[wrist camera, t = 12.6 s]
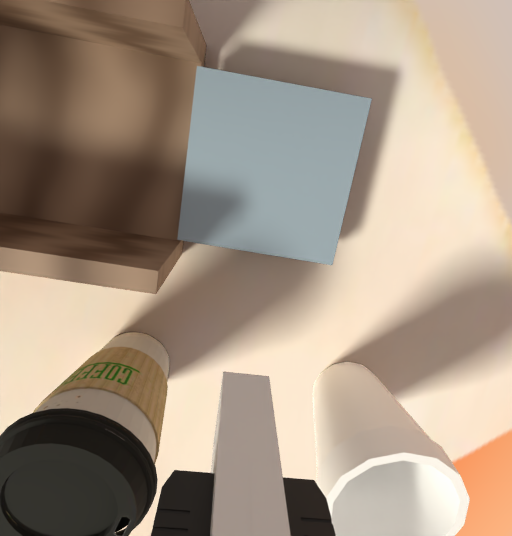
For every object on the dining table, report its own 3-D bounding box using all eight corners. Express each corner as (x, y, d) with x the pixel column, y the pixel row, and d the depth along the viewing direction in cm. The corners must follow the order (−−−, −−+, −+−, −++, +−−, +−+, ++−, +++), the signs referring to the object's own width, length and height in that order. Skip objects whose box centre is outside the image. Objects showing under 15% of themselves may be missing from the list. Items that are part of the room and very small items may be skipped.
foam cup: (276, 396, 37) (291, 522, 24) (341, 328, 35) (394, 427, 22) (348, 446, 39) (396, 586, 26) (413, 384, 37) (499, 503, 24)
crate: (-90, 211, 31) (-231, 236, 22) (-111, -17, 26) (-300, -106, 17) (181, 254, 32) (156, 294, 23) (206, 45, 28) (186, -7, 19)
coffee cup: (102, 296, 33) (-8, 405, 19) (206, 339, 35) (176, 470, 20) (68, 384, 36) (-52, 540, 21) (166, 421, 37) (114, 590, 23)
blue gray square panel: (177, 239, 29) (332, 265, 29) (197, 65, 25) (371, 98, 26) (182, 233, 31) (326, 257, 31) (201, 72, 27) (362, 102, 28)
